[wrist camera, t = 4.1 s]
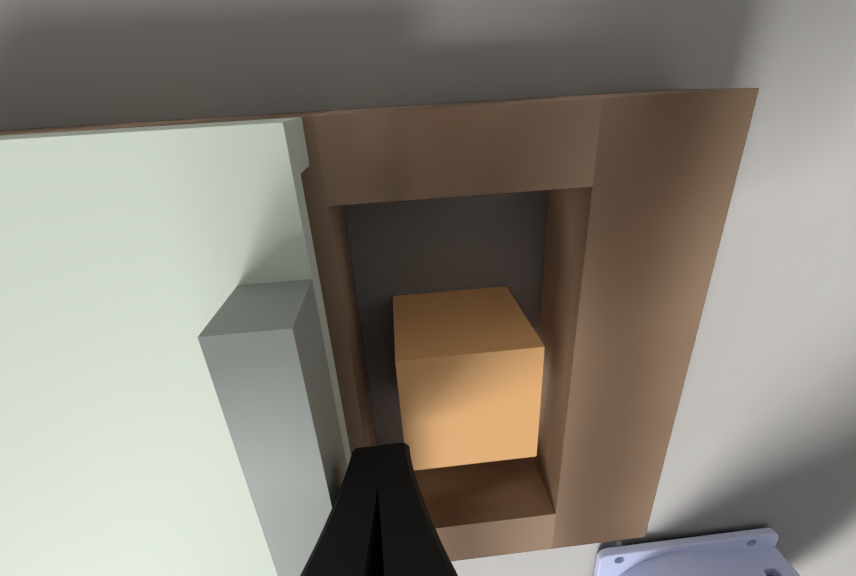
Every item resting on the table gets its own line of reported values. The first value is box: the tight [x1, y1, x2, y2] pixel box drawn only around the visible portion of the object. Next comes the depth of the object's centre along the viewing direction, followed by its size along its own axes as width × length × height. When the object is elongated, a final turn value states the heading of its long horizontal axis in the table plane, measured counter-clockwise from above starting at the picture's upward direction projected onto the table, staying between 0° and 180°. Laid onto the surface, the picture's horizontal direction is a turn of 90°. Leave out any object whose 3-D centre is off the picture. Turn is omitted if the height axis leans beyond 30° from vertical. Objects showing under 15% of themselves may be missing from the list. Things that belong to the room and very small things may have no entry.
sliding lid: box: [0, 117, 351, 576], centre depth 10 cm, size 10×16×4 cm, turn 3°
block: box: [393, 286, 545, 470], centre depth 14 cm, size 4×4×4 cm
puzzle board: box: [0, 88, 759, 561], centre depth 14 cm, size 28×16×3 cm, turn 93°
